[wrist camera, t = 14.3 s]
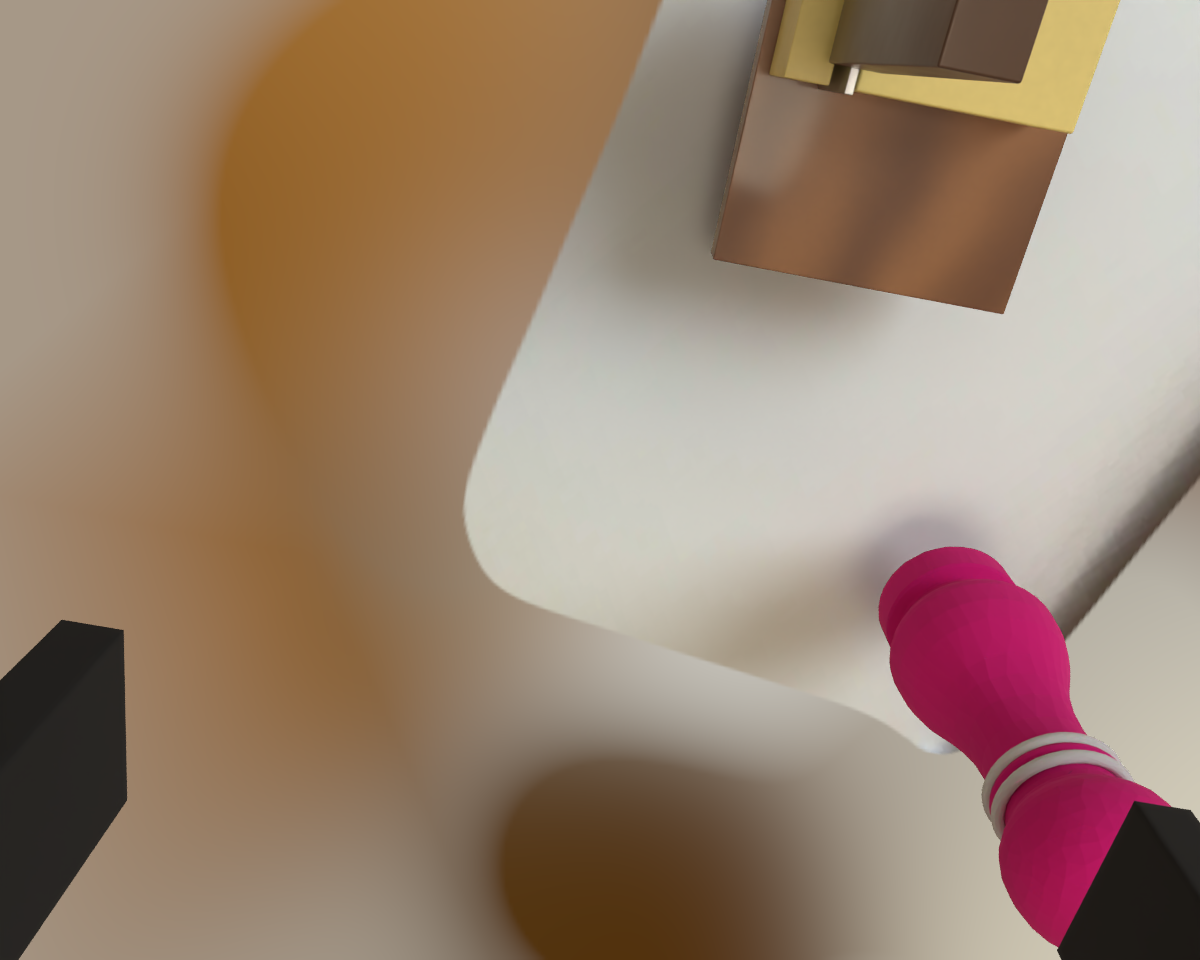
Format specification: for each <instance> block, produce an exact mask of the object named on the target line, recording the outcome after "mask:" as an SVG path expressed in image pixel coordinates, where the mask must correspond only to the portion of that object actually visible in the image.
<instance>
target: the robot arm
mask: <svg viewBox="0 0 1200 960" xmlns="http://www.w3.org/2000/svg"><path fill="white" fill-rule="evenodd" d="M125 725H126V724H125V676H124V631H123V630H119V629H113V628H107V627H102V626H95V625H90V624H83V623H78V622H72V621H65V620H61V621H60V622H59V623H58V624H57V625H56V626H55V627H54V628H53V629H52V630H51V631H50V632H49V633H48V634H47V635H46V636H45V637H44V638H43V639H42V640H41V641H40V642H39V643H38V644H37V645H36V646H35V647H34V648H33V649H32V650H31V651H30V652H29V653H28V654H27V655H26V656H25V657H24V658H22V659H21V661H19V662H18V663H17V665H15V666H14V667H13V669H12V670H11V671H9V672H8V673H7V674H6V675H5V676H4V677H3V678H2V679H1V680H0V960H19V958H20V957H21V955H22V954H23V952H24V951H25V949H26V948H27V946H28V945H29V943H30V942H31V940H32V939H33V938H34V936H35V935H36V933H37V932H38V930H39V929H40V927H41V926H42V924H43V922H44V921H45V920H46V918H47V917H48V915H49V914H50V913H51V911H52V910H53V908H54V907H55V905H56V904H57V902H58V901H59V899H60V898H61V896H62V895H63V893H64V892H65V890H66V889H67V888H68V886H69V885H70V883H71V882H72V880H73V879H74V877H75V876H76V874H77V873H78V871H79V870H80V868H81V867H82V865H83V864H84V863H85V861H86V860H87V858H88V857H89V855H90V854H91V852H92V851H93V849H94V848H95V846H96V845H97V843H98V842H99V840H100V839H101V838H102V836H103V835H104V833H105V832H106V830H107V829H108V827H109V826H110V824H111V823H112V821H113V820H114V818H115V817H116V816H117V814H118V813H119V811H120V810H121V808H122V807H123V805H124V804H125V802H126V801H127V776H126V775H127V773H126V726H125ZM1057 951H1058V953H1059V955H1060V958H1061V960H1200V822H1199V821H1198V820H1197V818H1196V817H1195V816H1194V814H1193V813H1192V812H1191V810H1186V809H1180V808H1174V807H1168V806H1162V805H1156V804H1151V803H1145V802H1139V801H1134V802H1133V804H1132V806H1131V808H1130V810H1129V812H1128V814H1127V816H1126V818H1125V820H1124V822H1123V824H1122V826H1121V827H1120V829H1119V831H1118V833H1117V835H1116V837H1115V839H1114V841H1113V843H1112V845H1111V847H1110V849H1109V851H1108V853H1107V855H1106V856H1105V858H1104V860H1103V862H1102V864H1101V866H1100V868H1099V870H1098V872H1097V874H1096V876H1095V878H1094V880H1093V882H1092V884H1091V885H1090V887H1089V889H1088V891H1087V893H1086V895H1085V897H1084V899H1083V901H1082V903H1081V905H1080V907H1079V909H1078V911H1077V913H1076V914H1075V916H1074V918H1073V920H1072V922H1071V924H1070V926H1069V928H1068V930H1067V932H1066V934H1065V936H1064V938H1063V940H1062V942H1061V943H1060V945H1059V947H1058V949H1057Z"/></svg>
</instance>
